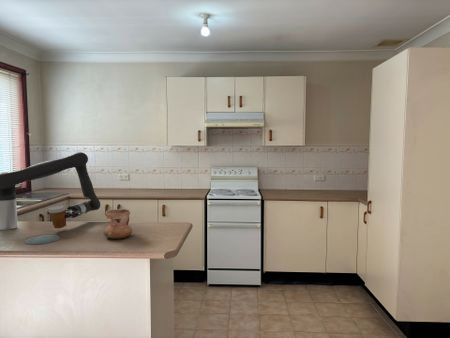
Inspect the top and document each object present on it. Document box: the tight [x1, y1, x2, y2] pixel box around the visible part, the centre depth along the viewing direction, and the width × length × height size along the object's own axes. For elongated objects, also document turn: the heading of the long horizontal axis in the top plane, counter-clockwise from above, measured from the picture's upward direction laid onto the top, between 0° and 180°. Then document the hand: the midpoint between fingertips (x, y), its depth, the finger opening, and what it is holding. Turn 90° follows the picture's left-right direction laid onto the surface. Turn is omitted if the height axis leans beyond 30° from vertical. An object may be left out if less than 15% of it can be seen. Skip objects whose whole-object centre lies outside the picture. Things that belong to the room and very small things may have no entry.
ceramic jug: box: [103, 208, 133, 240], centre depth 174 cm, size 18×14×14 cm
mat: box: [24, 234, 61, 246], centre depth 169 cm, size 16×16×1 cm
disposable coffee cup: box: [47, 203, 67, 229], centre depth 184 cm, size 10×10×12 cm
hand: (58, 216), depth 184 cm, fingers closed on disposable coffee cup, 8 cm apart
